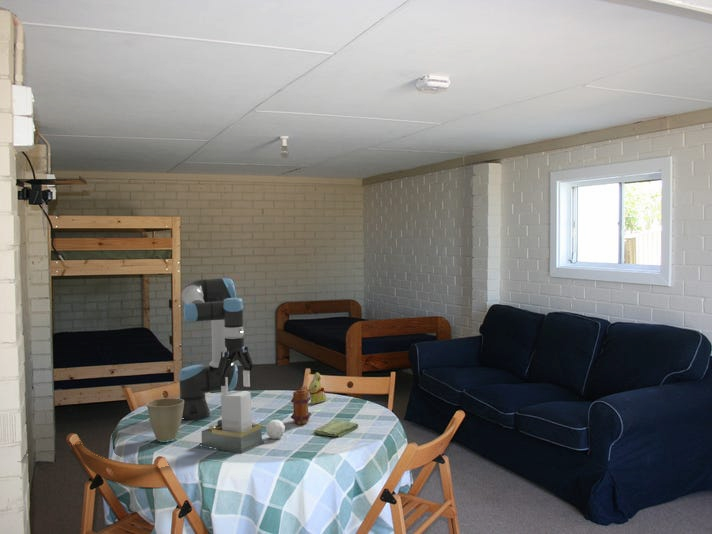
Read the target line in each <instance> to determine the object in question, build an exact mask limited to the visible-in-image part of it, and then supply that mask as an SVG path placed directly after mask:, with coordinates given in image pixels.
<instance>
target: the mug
mask: <svg viewBox="0 0 712 534" xmlns="http://www.w3.org/2000/svg"><path fill="white" fill-rule="evenodd" d="M292 396H293V397H292V398H291V400H290V402H291V403H292V404H293V406H292V407H293V413H292V415H291V416H290V418H291V419H292V420H293V422H294V424H295V425H306V424H307V423H308V422H309V421H310V420H309V419H310V418H311V415H312V413H311V412H309V401H311V397H310V394H309V387H307V385H302V386H301V388H300V390H295V391H293V393H292Z"/></svg>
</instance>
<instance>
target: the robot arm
mask: <svg viewBox="0 0 712 534" xmlns="http://www.w3.org/2000/svg"><path fill="white" fill-rule="evenodd" d="M235 287H236V286H235V283H234V281H233V279H231V278H224V277H219V278H217V277H216V278H205V279H204V278H203V279H196V280H193V281H190V282H189V283H187V284H186V285H185V286H184V287H183V288H182V290H181V293H180V296H181V300H182V302H183V303H184V305H183V317H184V321H185V322H187V323H188V322H189V323H190V322H191V323H192V322H193V323H196V322H205V321H206V322H207V321H208V322H209V321H211V355H212V356H211V357H212V358H211V361H210V362H209V363H208V367H206V366H205V365H204V364H193V365H189V366H185V367H183V368H181V369H180V370H179V373H178V375H179V377H178V381H179V399H182V400H184V407H183V414H182V418H184V419H194V420H199V418H201V419H205V418H208V417H210V416H211V415H210V414H211V410H210V407H209V405H208V402H207V398H206V393H216V392H220V394H221V395H223V394H228V392H229V391H234V390H235V389H236V386H237V383H238V374H239V373H238V366H237V365H236V364H235V362H236V361H238V362H239V363H240V365H241V366H242V367H243V370H242V376H243V380H242V383H243V387H248V388H250V387H251V383H250V382H251V381H250V378H251V371H252V370H253V368H254V363H253V361H252V359H251V356H250V352H249V347H248V346H245V338H244V335H245V333H244V332H245V331H244V304H243V299H242V298H240V297H237V293H236V288H235ZM204 417H205V418H204Z"/></svg>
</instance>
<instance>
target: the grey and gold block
mask: <svg viewBox="0 0 712 534" xmlns="http://www.w3.org/2000/svg"><path fill="white" fill-rule="evenodd" d="M216 423H217V424H216V425H209V426H208V428H206V429H204V430H202V431H201V442H200V443H199V444H198V446H199V445H202V446H206V447H212V448H216V449H215V450H218V449H222V450H221V451H224V450H227V451H226V452H230V451H232V452H231V453H236V452H237V453H236V454H244V453H246V452H248V451H251V450H252V449H255V448H257V447H259V446H262V445H264V444H265V443H266V442H265V441H266V440H264V439H262V438H263V437H262V436H263V435H262V433H263V432H262V429H263V424H260V423H255V422H252V428H251V429H248V430H246V431H243V432H241V433H236V432H229V431H223V430H222V419H219V420H217V421H216ZM206 447H205V448H206ZM212 448H211V449H212Z"/></svg>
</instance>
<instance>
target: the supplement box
mask: <svg viewBox="0 0 712 534" xmlns="http://www.w3.org/2000/svg"><path fill="white" fill-rule="evenodd" d="M251 396H252V395H251V391H247V390H245V391H243V390H229V391H228V394H221V395H220V409H221V420H222V430H223V431H229V432H236V433H241V432H243V431H246V430H248V429H251V428H252V423H253V421H252V420H253V418H252V397H251Z"/></svg>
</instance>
